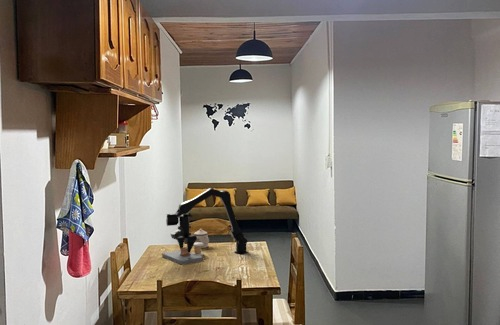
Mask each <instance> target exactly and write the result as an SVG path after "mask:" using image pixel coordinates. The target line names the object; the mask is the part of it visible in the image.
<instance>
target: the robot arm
mask: <svg viewBox="0 0 500 325" xmlns="http://www.w3.org/2000/svg"><path fill="white" fill-rule="evenodd" d="M212 196H213V197H217V198H219V200H220V201H221V203H222V204H223V206H224V209H225V212H226V215H227V218H228V220H229V223H230V229H229V233H230V237H231V238H232V239H233V240H235V251H234V253H235V254H238V255H243V254H249V251H247V243H248V241H249V240H248V239H247V238H245V235H244V232H243V231H242V230H241V228H240V226H239V224H238V222H237V218H236V215H235V212H234V209H233V206H232V197H231V194H230V192H229V191H228V190H225V189H222V190H218V189H216V188H215V189H214V188H211V187H209V188H208V189H207V190H205V191H204V192H202V193H200V194H198V195H196V196H195V197H194V198H191V199H189V200H186V201H183V202H181V203H180V204H179V205H178V209H177V210H176V212H175V213H166V219H165V220H166V226H167V227H168V226H169V227H170V226H178V224H179V226H178V227H177V229H176V230H174V231H171V232H170V237H171V239H173V240H176V241H177V243H178V247H179V250H181V248H184V246H185V243H186V247H187V248H188V252H191V250H192V248H194V246H193V244H194V243H195V242H196V240H197V237H196V236H195V235H194V234H192V233H191V232H190V230H191V228H192V226H191V225H190V218H192V217H193V215H192V214H191V212H190V211H192V209H193V208H195V206H196V205H199V204H200V203H202V202H203V201H205V200H206V199H208V198H210V197H212Z"/></svg>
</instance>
